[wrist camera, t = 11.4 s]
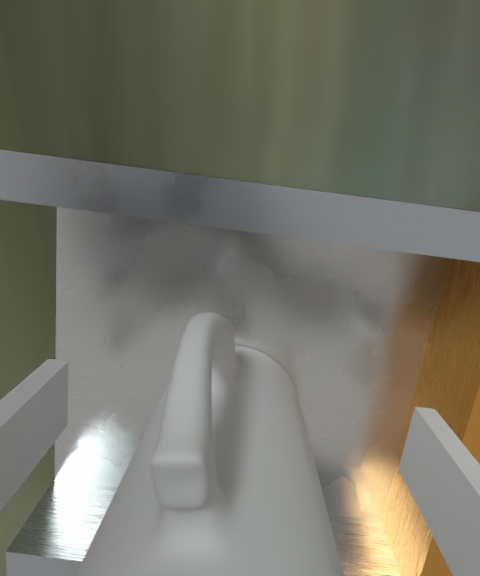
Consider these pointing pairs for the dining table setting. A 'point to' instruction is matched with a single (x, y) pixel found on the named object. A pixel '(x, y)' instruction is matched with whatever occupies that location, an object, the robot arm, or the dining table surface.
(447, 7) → the dining table surface
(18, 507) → the dining table surface
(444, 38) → the dining table surface
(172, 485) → the mug
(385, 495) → the channel
